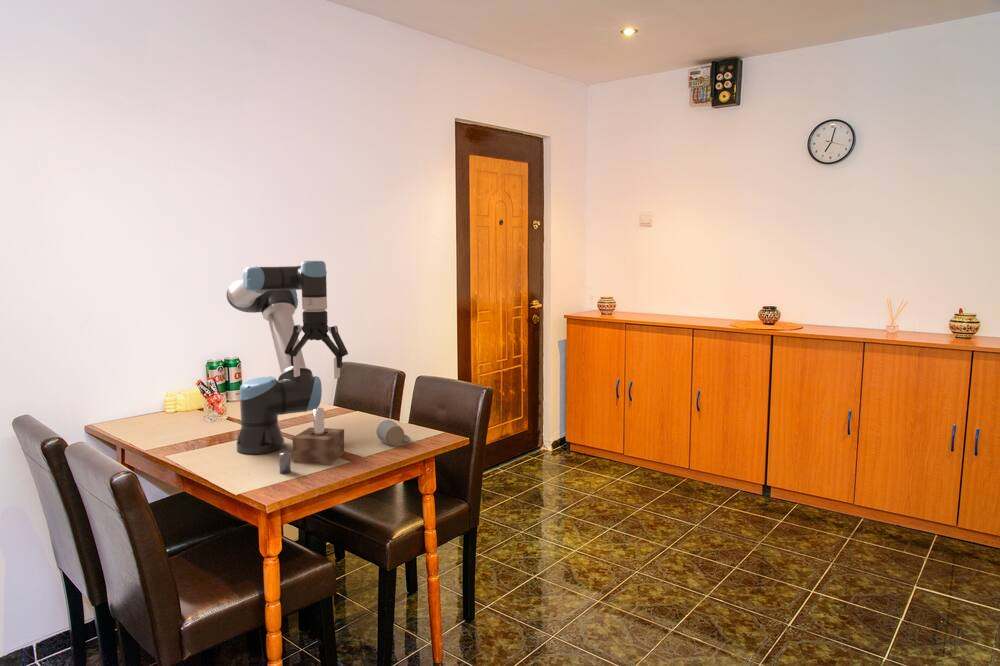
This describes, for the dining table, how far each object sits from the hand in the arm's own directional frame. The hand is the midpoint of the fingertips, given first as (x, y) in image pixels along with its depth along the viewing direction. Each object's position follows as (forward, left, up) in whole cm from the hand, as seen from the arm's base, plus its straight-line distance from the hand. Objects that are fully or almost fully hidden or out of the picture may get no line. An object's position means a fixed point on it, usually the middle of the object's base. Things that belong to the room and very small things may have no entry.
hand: (317, 377), depth 212 cm
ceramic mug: (+18, +20, -27) cm, 38 cm away
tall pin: (0, 0, -26) cm, 26 cm away
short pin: (-4, -15, -26) cm, 31 cm away
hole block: (0, 0, -26) cm, 26 cm away
